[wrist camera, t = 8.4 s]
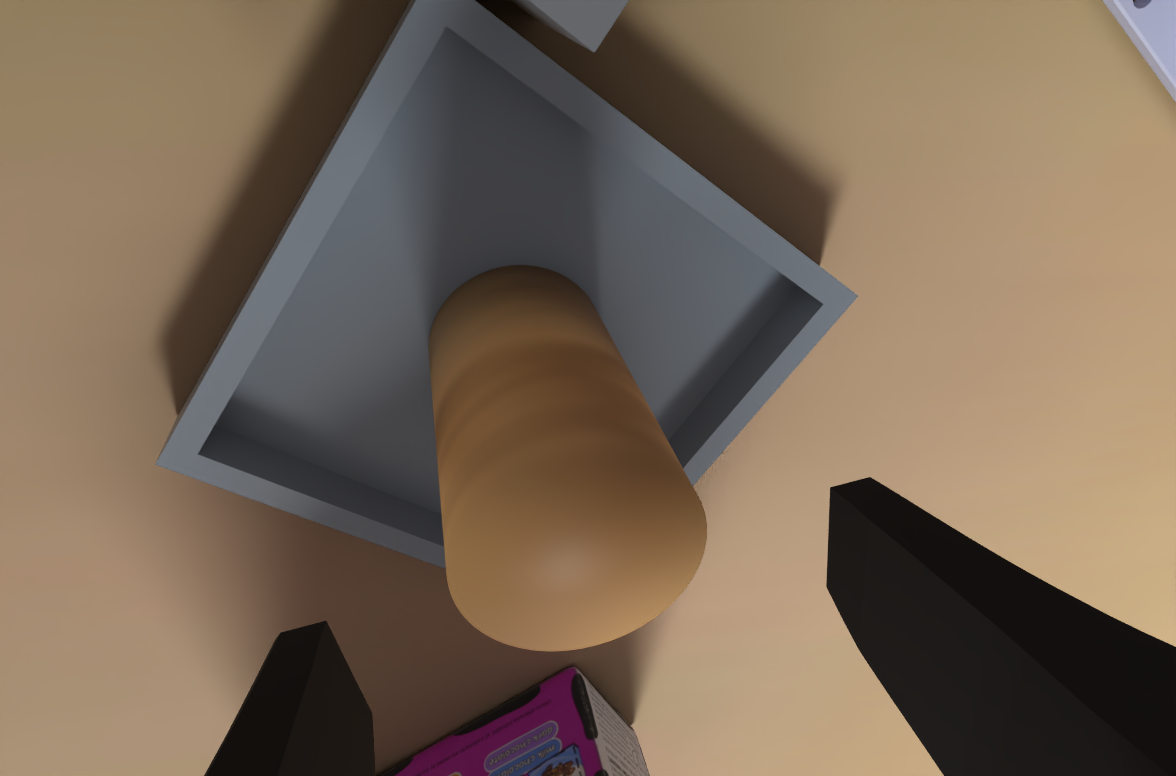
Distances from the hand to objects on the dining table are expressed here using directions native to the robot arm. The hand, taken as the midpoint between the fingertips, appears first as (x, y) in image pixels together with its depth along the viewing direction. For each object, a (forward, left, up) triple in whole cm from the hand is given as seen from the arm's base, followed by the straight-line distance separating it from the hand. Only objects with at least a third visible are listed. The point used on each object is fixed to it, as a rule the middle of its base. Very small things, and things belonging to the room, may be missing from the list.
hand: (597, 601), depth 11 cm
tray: (0, 0, -8) cm, 8 cm away
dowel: (0, 0, -8) cm, 8 cm away
